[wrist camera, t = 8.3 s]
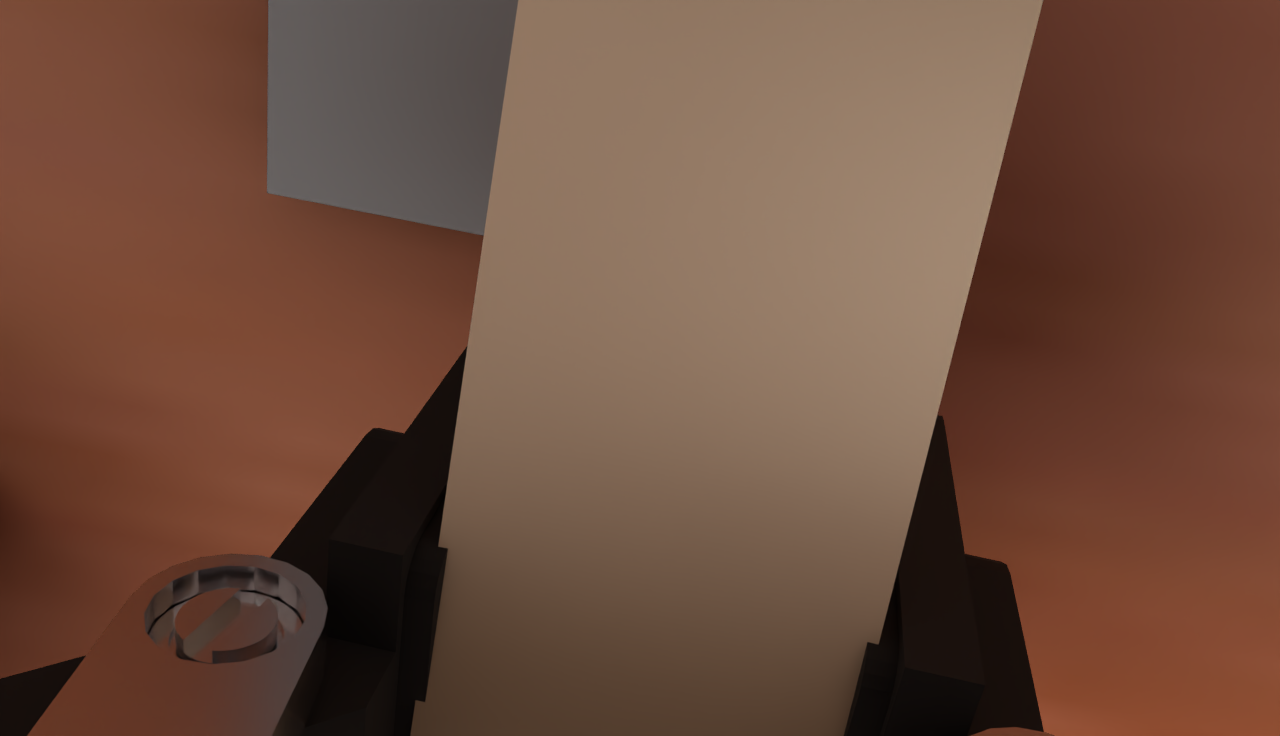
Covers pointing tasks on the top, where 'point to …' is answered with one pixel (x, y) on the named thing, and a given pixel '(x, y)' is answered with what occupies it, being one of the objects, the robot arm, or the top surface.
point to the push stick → (709, 355)
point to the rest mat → (388, 105)
